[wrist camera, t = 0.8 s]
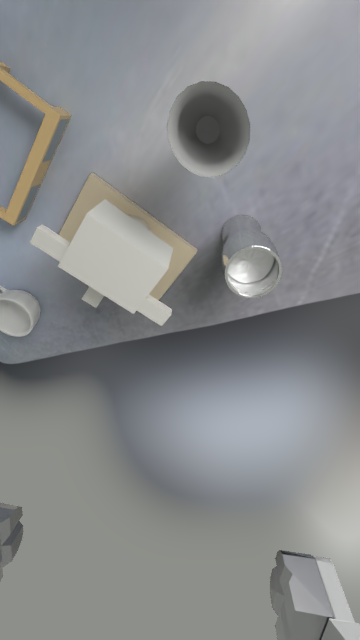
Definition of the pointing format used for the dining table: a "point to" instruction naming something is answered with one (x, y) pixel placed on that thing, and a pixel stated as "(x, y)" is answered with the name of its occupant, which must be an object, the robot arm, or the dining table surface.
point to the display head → (117, 250)
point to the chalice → (208, 129)
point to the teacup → (18, 312)
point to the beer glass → (249, 258)
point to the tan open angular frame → (33, 150)
